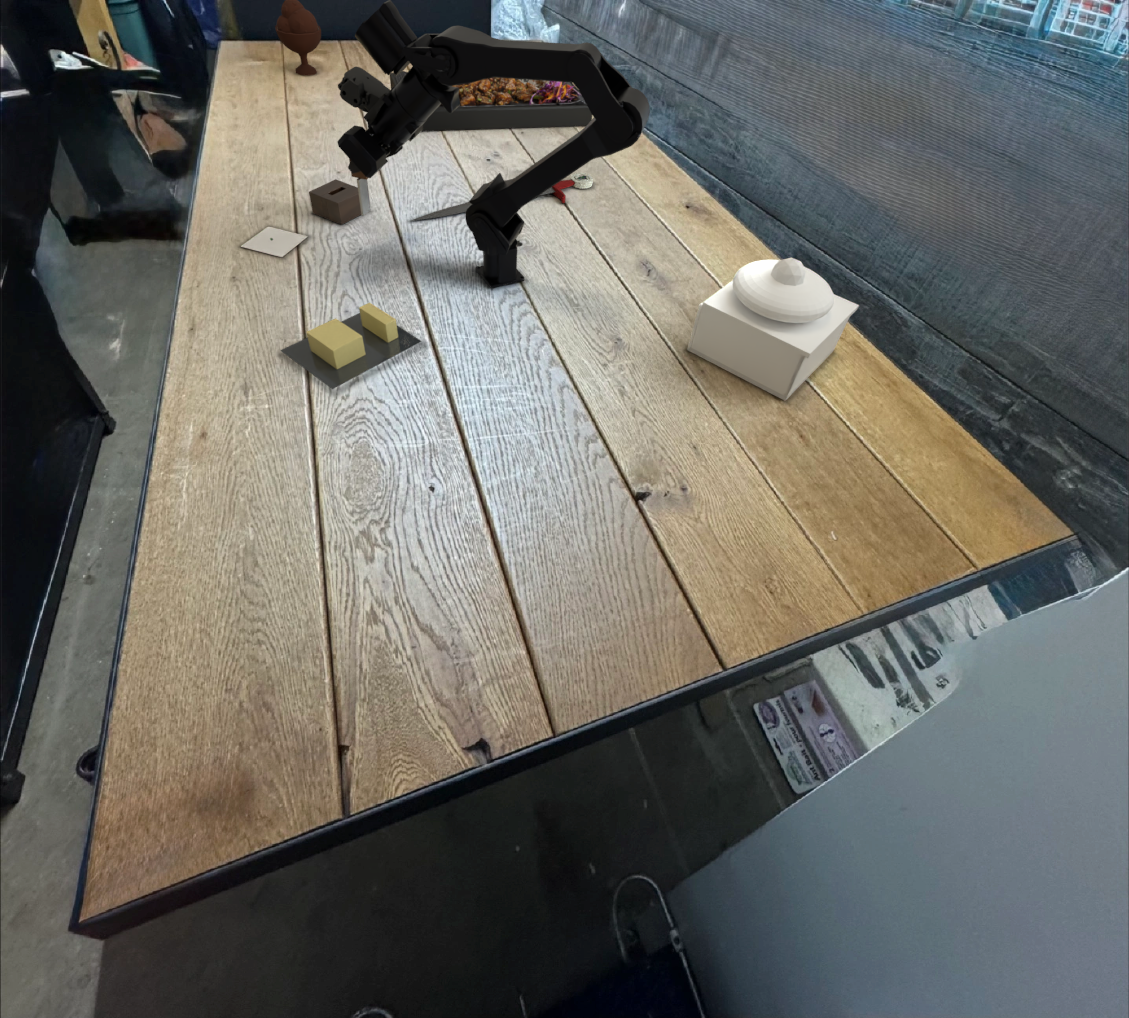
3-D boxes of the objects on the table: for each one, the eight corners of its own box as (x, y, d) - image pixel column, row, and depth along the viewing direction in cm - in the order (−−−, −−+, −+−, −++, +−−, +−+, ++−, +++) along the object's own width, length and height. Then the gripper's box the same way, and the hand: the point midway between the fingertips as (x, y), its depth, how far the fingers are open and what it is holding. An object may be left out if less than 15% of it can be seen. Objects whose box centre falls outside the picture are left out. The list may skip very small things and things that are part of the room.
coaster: (308, 236, 116) (307, 232, 115) (281, 257, 111) (280, 252, 110) (268, 226, 117) (267, 222, 116) (240, 246, 112) (239, 242, 111)
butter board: (370, 312, 103) (369, 307, 102) (422, 345, 98) (421, 341, 98) (281, 354, 94) (280, 350, 93) (333, 393, 90) (332, 388, 89)
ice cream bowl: (275, 74, 166) (259, 1, 155) (299, 62, 173) (286, -9, 162) (313, 81, 165) (299, 9, 154) (335, 69, 172) (324, -1, 161)
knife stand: (367, 211, 124) (364, 189, 121) (341, 225, 120) (337, 203, 116) (339, 200, 126) (335, 178, 123) (312, 213, 121) (308, 191, 118)
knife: (377, 210, 111) (368, 141, 103) (369, 217, 109) (361, 148, 101) (362, 207, 111) (353, 138, 103) (355, 214, 109) (345, 144, 101)
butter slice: (372, 320, 100) (369, 302, 97) (398, 337, 98) (396, 319, 95) (362, 325, 99) (358, 307, 96) (388, 343, 97) (385, 324, 94)
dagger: (394, 194, 129) (393, 185, 128) (583, 175, 142) (583, 167, 141) (409, 222, 122) (408, 213, 121) (606, 199, 135) (607, 191, 134)
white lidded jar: (740, 307, 112) (769, 216, 100) (836, 352, 106) (880, 261, 94) (686, 350, 103) (711, 255, 91) (788, 403, 96) (830, 308, 84)
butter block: (339, 336, 97) (335, 318, 94) (365, 354, 94) (362, 335, 92) (310, 350, 94) (305, 331, 92) (337, 369, 92) (332, 350, 89)
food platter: (561, 90, 176) (564, 45, 168) (591, 125, 161) (596, 77, 153) (391, 93, 164) (386, 44, 156) (407, 131, 149) (402, 79, 142)
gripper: (396, 33, 98) (341, 103, 107) (338, 69, 86) (282, 144, 95) (449, 101, 103) (391, 162, 112) (401, 144, 91) (341, 208, 100)
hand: (353, 167), depth 105 cm, fingers closed on knife, 2 cm apart
